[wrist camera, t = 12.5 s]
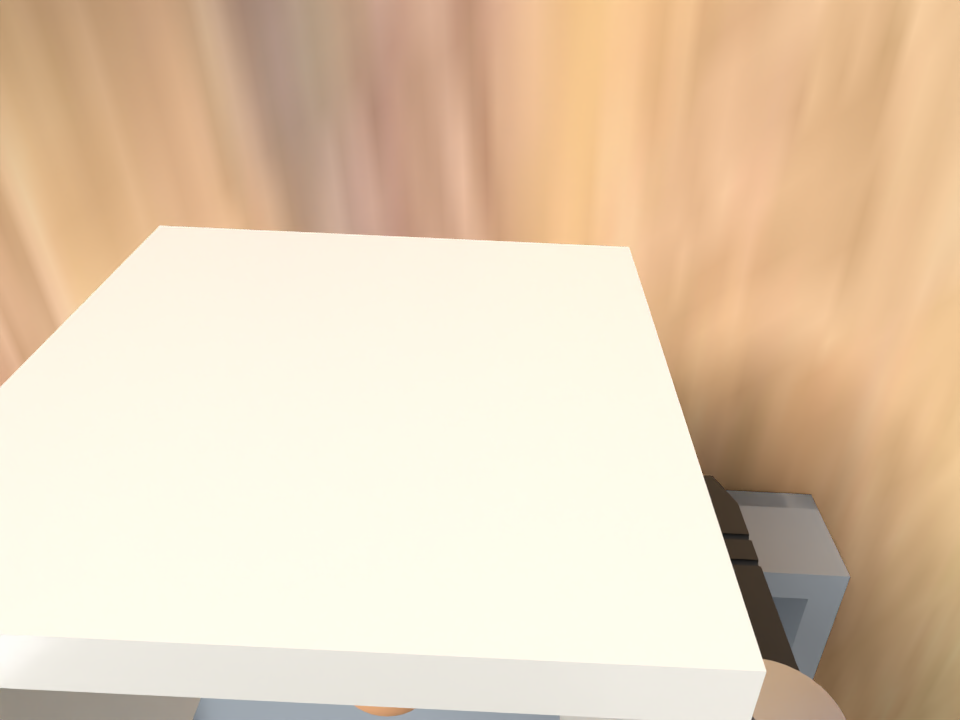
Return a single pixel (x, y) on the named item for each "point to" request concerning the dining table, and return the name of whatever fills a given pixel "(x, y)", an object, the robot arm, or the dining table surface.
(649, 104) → the dining table surface
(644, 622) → the white cube stool
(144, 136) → the dining table surface
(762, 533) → the tray
